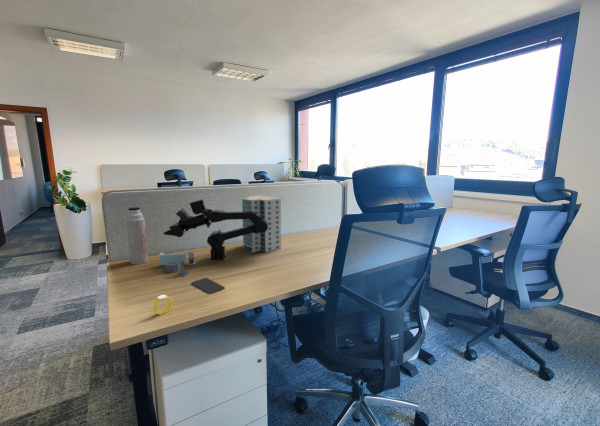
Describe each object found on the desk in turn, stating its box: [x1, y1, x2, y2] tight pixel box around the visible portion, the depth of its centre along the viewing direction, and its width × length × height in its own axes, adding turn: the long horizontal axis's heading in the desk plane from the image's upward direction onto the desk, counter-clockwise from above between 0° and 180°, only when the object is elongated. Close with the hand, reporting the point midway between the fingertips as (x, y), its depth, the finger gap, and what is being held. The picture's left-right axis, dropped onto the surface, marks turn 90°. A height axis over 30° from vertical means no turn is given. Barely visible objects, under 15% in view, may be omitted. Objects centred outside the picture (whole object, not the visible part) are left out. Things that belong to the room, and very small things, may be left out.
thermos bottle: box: [125, 206, 149, 265], centre depth 144 cm, size 8×8×28 cm
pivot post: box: [186, 251, 197, 266], centre depth 143 cm, size 4×4×6 cm
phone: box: [191, 277, 226, 295], centre depth 118 cm, size 7×1×15 cm
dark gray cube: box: [165, 262, 178, 273], centre depth 134 cm, size 4×4×4 cm
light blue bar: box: [159, 252, 188, 266], centre depth 141 cm, size 2×12×6 cm, turn 99°
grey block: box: [176, 261, 189, 277], centre depth 129 cm, size 3×4×6 cm
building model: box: [241, 195, 282, 253], centre depth 169 cm, size 20×16×30 cm
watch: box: [152, 294, 173, 316], centre depth 96 cm, size 6×3×6 cm, turn 146°
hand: (166, 230), depth 146 cm, fingers open, 9 cm apart
